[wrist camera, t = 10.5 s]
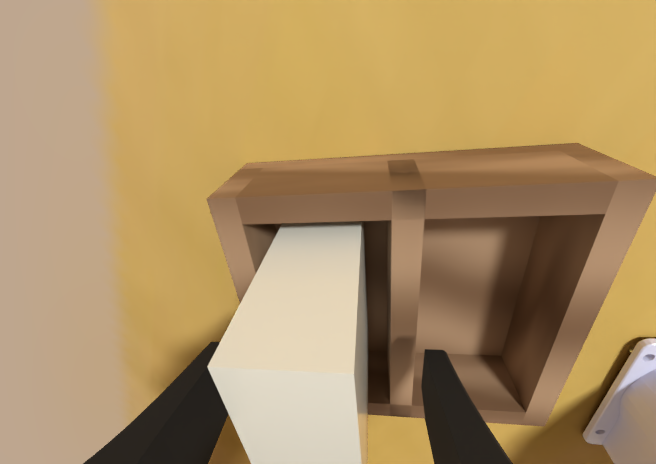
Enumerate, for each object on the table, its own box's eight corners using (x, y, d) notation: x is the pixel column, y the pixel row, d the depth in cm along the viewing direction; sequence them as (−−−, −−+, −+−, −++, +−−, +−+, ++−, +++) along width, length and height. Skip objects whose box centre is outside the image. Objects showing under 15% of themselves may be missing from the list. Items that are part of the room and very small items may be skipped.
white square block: (368, 333, 17) (366, 531, 10) (314, 332, 17) (276, 519, 10) (362, 200, 13) (353, 374, 6) (292, 202, 13) (207, 367, 6)
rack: (511, 355, 17) (544, 426, 14) (290, 348, 19) (273, 408, 16) (577, 143, 11) (661, 179, 8) (246, 163, 13) (206, 198, 10)
